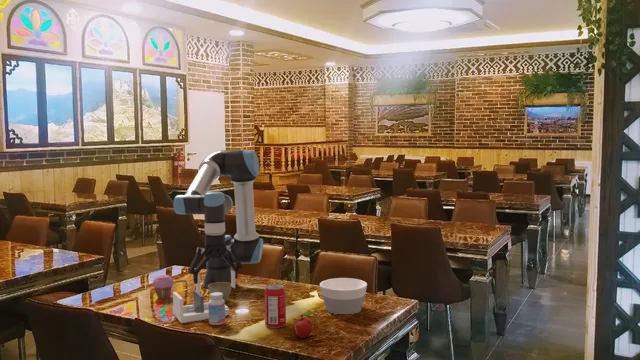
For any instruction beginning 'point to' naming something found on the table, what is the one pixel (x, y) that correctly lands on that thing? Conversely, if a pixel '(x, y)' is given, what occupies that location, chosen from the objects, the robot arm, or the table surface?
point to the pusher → (197, 302)
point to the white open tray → (186, 315)
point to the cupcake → (163, 286)
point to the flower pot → (221, 289)
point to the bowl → (343, 295)
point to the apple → (303, 325)
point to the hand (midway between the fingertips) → (216, 289)
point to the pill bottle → (216, 309)
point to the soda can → (275, 306)
